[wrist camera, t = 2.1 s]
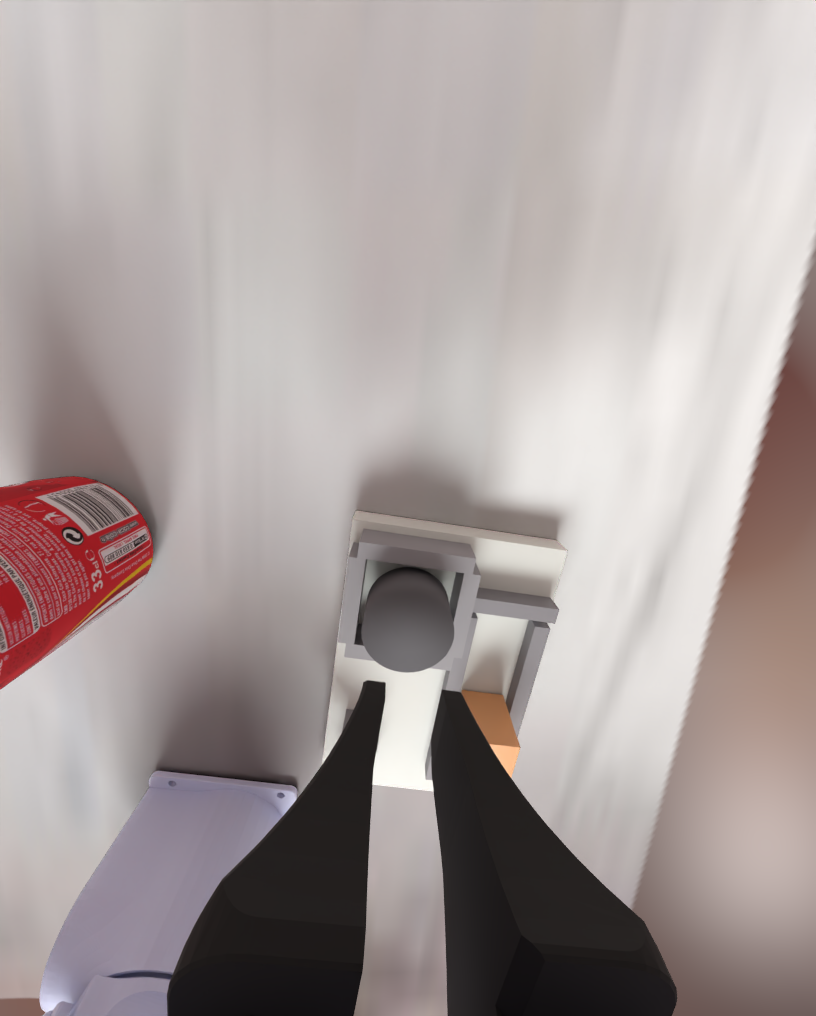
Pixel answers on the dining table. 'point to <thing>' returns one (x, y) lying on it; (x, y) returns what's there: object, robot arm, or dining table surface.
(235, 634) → the dining table surface
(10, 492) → the soda can
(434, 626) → the button
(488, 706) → the orange flat-faced block
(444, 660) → the panel
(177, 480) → the dining table surface
